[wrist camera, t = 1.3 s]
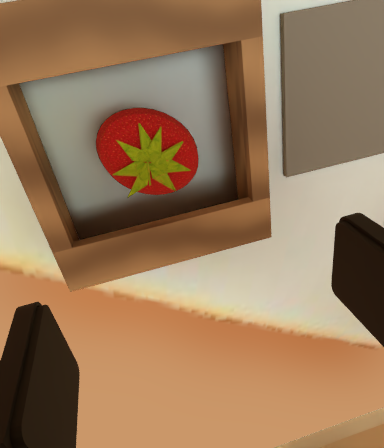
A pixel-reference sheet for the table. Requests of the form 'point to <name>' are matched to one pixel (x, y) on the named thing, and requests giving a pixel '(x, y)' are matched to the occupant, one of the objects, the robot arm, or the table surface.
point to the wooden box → (121, 53)
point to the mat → (332, 84)
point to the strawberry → (147, 151)
